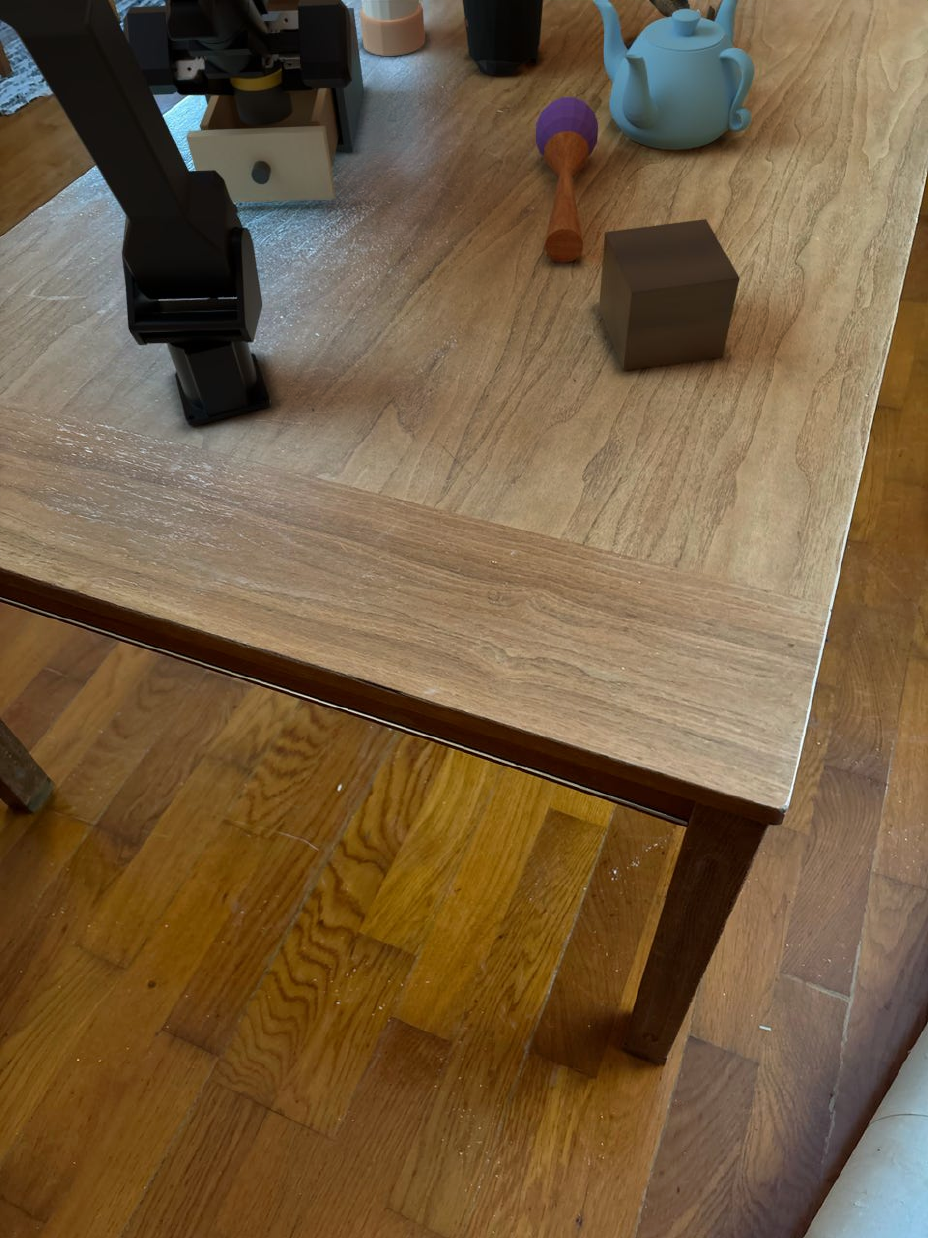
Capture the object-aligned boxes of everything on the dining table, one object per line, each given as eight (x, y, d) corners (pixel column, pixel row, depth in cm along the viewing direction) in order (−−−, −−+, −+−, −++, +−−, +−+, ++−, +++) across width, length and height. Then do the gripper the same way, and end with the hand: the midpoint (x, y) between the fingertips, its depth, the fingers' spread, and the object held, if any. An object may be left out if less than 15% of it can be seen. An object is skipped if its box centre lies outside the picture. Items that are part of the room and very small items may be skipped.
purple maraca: (523, 221, 79) (531, 90, 89) (535, 279, 84) (542, 149, 94) (594, 209, 77) (594, 77, 88) (602, 269, 82) (601, 138, 93)
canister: (292, 96, 89) (281, 39, 85) (294, 122, 86) (284, 63, 82) (238, 103, 89) (224, 45, 85) (238, 129, 86) (224, 70, 82)
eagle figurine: (720, 24, 106) (647, -3, 107) (729, -21, 99) (651, -49, 100) (691, 86, 106) (618, 58, 107) (698, 45, 99) (620, 16, 100)
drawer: (333, 206, 87) (322, 138, 82) (202, 210, 88) (183, 143, 83) (347, 133, 95) (337, 67, 90) (227, 138, 96) (211, 72, 91)
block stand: (723, 357, 73) (740, 277, 68) (623, 371, 73) (631, 292, 67) (692, 297, 78) (706, 218, 72) (598, 310, 77) (604, 231, 72)
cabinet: (352, 152, 95) (340, 66, 88) (220, 156, 96) (198, 72, 89) (363, 89, 103) (353, 7, 97) (242, 94, 104) (223, 12, 97)
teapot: (761, 156, 91) (785, 41, 83) (606, 168, 91) (616, 53, 83) (725, 87, 100) (744, -24, 91) (585, 97, 100) (591, -12, 91)
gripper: (329, -119, 70) (361, -11, 85) (84, -107, 71) (160, -2, 86) (334, 41, 72) (365, 120, 87) (95, 51, 72) (168, 127, 88)
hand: (264, 88), depth 87 cm, fingers closed on canister, 5 cm apart
